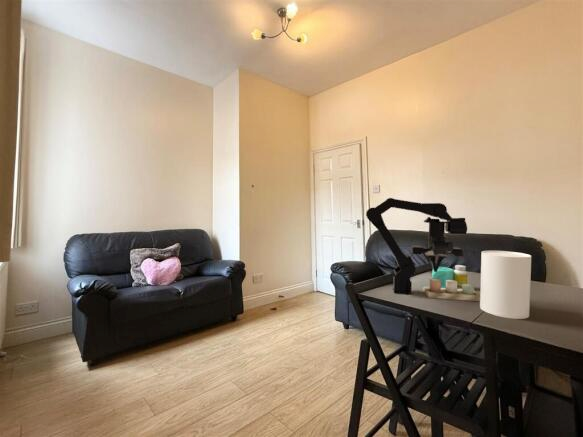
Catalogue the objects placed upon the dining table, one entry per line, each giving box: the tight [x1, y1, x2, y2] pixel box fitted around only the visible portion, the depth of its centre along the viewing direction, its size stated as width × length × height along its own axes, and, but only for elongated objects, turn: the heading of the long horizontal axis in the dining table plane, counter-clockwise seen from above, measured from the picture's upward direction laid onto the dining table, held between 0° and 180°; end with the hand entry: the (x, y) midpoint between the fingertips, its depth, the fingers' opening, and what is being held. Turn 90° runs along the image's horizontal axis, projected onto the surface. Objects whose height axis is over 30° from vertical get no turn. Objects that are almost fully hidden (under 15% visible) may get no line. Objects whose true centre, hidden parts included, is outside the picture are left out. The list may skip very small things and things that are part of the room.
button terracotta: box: [429, 278, 441, 291], centre depth 114 cm, size 4×4×4 cm
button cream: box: [446, 280, 457, 293], centre depth 113 cm, size 4×4×4 cm
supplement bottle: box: [453, 264, 468, 289], centre depth 123 cm, size 5×5×10 cm
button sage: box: [462, 283, 475, 295], centre depth 111 cm, size 4×4×4 cm
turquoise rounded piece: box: [431, 266, 454, 288], centre depth 126 cm, size 8×8×8 cm
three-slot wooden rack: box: [422, 286, 480, 302], centre depth 113 cm, size 19×10×2 cm, turn 75°
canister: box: [479, 250, 532, 320], centre depth 96 cm, size 14×14×20 cm
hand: (435, 271), depth 114 cm, fingers closed
